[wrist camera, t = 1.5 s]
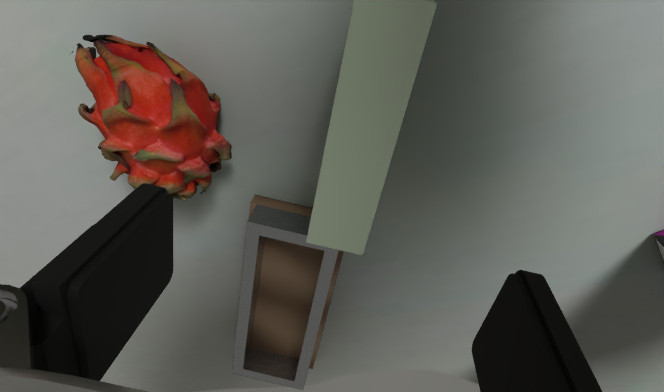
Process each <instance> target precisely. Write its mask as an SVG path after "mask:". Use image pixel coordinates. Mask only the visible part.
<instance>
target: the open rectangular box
mask: <svg viewBox="0 0 664 392" xmlns="http://www.w3.org/2000/svg"><path fill="white" fill-rule="evenodd" d="M312 210H313V208H309V207H304V206H300V205H296V204H292V203H287V202H283V201H279V200H275V199H270V198H266V197H262V196H257V195H255V196H254V198H253V200H252V201H251V206H250V216H249V219H248V221H247V229H246V239H245V249H244V259H243V268H242V278H241V288H240V298H239V308H238V318H237V328H236V338H235V348H234V358H233V368H232V373H234V374H238V375H242V376H246V377H250V378H254V379H259V380H263V381H267V382H271V383H275V384H279V385H283V386H288V387H292V388H296V389H300V390H303V389H304V385H305V381H306V377H307V373H308V369H309V368H311V369H313V366H314V362H315V358H316V354H317V350H318V347H319V343H320V339H321V335H322V331H323V328H324V324H325V320H326V316H327V312H328V309H329V305H330V301H331V297H332V293H333V289H334V286H335V282H336V278H337V274H338V270H339V267H340V263H341V259H342V255H343V251H341V250H337V249H332V248H328V247H324V246H320V245H315V244H311V243H307V242H306V240H307V235H308V230H309V225H310V220H311V215H312Z"/></svg>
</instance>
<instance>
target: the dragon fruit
mask: <svg viewBox="0 0 664 392" xmlns="http://www.w3.org/2000/svg"><path fill="white" fill-rule="evenodd" d="M83 39H84V40H86V41H90V42H94V46H95V47H96V48H97V52H98V54H99V55H100V56H99V57H96V49H95V48H94V47H88V48H84V47H83V46H82V45H81V44H80V43H79V44H77V45H78V48H77V52H76V57H75V61H76V65H77V68H78V71H79V72H80V74H81V75H82V77H83V79H84V80H85V82H86V85H87V87H88V88H89V90H90V91H91V92H92V94H93V96H94V98H95V100H96V103H95V104H94V105H93V106H92V108H88V106H86V105H84V104H80V106H79V108H78V111H79V114H80V115H81V116H82V117H83V118H84V119H85V120H87V121H88V122H90V123H92V124H94V125H96V126H97V128H98V129H99V130H100V132H101V133H102V134H103V136H104V138H105V140H103V141H102V142H101V143H100V144H99V146H98V148H99V149H101V151H102V155H103V156H104V158H105V159H108V160H111V161H115V160H116V161H118V164H117V166H116V168H115V170H114V172H113V174H112V175H111V176H110V179H111V180H116V179H117V178H118V177H119V175H121V174H123V173H126V174H129V177H128V183H129V184H130V185H131V186H132V187H134V188H135V189H136V188H138V187H139V186H140V185H141V184H143V183H147V184H151V185H156V186H160V187H164V188H166V189H167V193H168V194H171V195H172V197H173V198H177V199H181V200H183V201H185V200H186V198H190V197H192V196H193V195H194V194H195V193H196V191H197V188H196V187H197V186H198V185H199V183H200V184H201V185H202V187H203V191H202V192H206V189H207V188H208V187H209V186H210V184H211V179H212V175H211V172H215V171H217V170H220V169H221V159H222V160H228V159H231V158H232V156H231V148H232V146H231V144H230V143H229V142H228V141H227V140H225V138H224V137H223V136H222V135H220V134H218V132H217V131H216V128H217V119H218V112H219V111H220V106H221V103H220V98H219V97H218V96H217V95H216V94H215V93H214V94H209V93H208V91H207V89H206V87H205V85H204V83H203V82H202V81H201V80H200V79H199V78H198V77H197V76H195V75H194V74H193V73H191V72H189V71H188V70H187V69H185V68H184V67H183V66H182V65H181V64H179V63H178V62H177V61H175V60H174V59H172V58H170V57H168V56H167V55H165V54H163V53H162V52H161V51H160V50H159V49H157V48H156V47H155V46H154V44H152V43H150V42H147V43H146V44H147V45H148V46H146V45H142V44H137V43H133V42H130V41H126V40H124V39H122V38H119V37H117V36H113V35H97V36H95V37H93V36H92V35H85V36H83ZM102 43H103V44H102ZM73 48H74V47H73ZM72 52H73V50H72ZM72 52H71V53H72ZM209 165H210V167H208V166H209ZM210 171H211V172H210ZM202 192H201V193H200V194H202Z"/></svg>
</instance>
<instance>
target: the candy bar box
mask: <svg viewBox="0 0 664 392" xmlns="http://www.w3.org/2000/svg"><path fill="white" fill-rule="evenodd" d="M654 238H655V240H656V243H657V245H658V247H659V249H660V252H661V255H662V258H663V260H664V230H663V231H660V232H657V233H655V234H654Z"/></svg>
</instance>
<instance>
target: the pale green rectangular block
mask: <svg viewBox="0 0 664 392" xmlns="http://www.w3.org/2000/svg"><path fill="white" fill-rule="evenodd" d="M436 7H437V3H436V2H435V1H434V0H354V3H353V8H352V13H351V18H350V23H349V29H348V34H347V39H346V44H345V49H344V54H343V59H342V64H341V69H340V74H339V79H338V84H337V89H336V94H335V99H334V104H333V109H332V114H331V119H330V124H329V129H328V134H327V139H326V144H325V149H324V154H323V159H322V165H321V170H320V175H319V180H318V185H317V190H316V195H315V200H314V205H313V210H312V215H311V220H310V225H309V230H308V235H307V240H306V242H307V243H311V244H315V245H320V246H324V247H328V248H332V249H337V250H341V251H345V252H349V253H354V254H358V255H362V256H363V253H364V250H365V247H366V243H367V240H368V237H369V233H370V230H371V226H372V223H373V220H374V216H375V213H376V210H377V206H378V203H379V199H380V196H381V193H382V189H383V186H384V182H385V179H386V176H387V172H388V169H389V166H390V162H391V159H392V155H393V152H394V149H395V145H396V142H397V139H398V135H399V132H400V128H401V125H402V122H403V118H404V115H405V112H406V108H407V105H408V101H409V98H410V95H411V91H412V88H413V85H414V81H415V78H416V74H417V71H418V68H419V64H420V61H421V58H422V54H423V51H424V47H425V44H426V41H427V37H428V34H429V30H430V27H431V24H432V20H433V17H434V14H435V10H436Z"/></svg>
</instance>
